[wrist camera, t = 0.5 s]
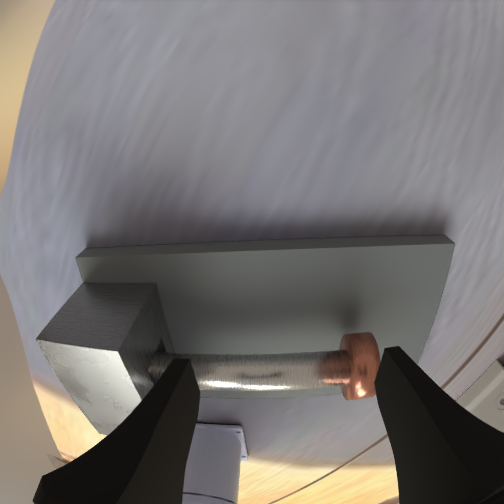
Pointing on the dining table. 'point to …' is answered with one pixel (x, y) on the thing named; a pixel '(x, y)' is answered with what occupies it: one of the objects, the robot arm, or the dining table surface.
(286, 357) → the shaft
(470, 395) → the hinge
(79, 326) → the bearing block
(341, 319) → the base plate
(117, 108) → the dining table surface
